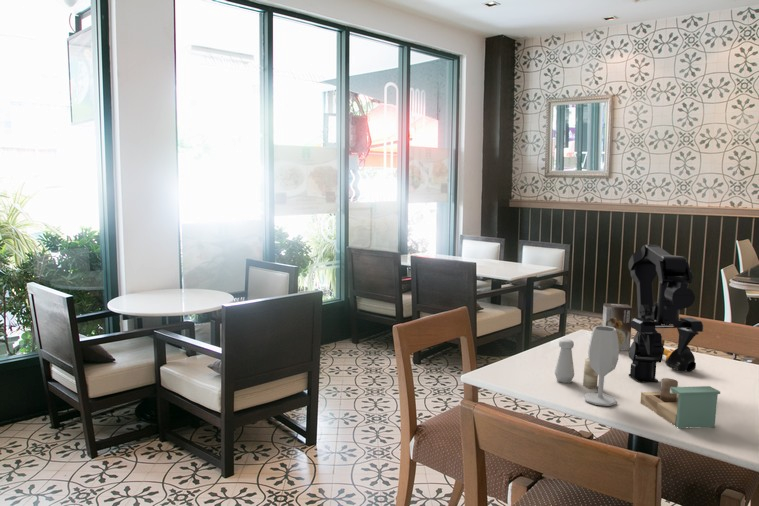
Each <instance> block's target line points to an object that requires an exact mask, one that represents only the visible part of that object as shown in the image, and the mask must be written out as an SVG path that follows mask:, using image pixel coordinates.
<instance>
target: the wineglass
mask: <svg viewBox="0 0 759 506" xmlns="http://www.w3.org/2000/svg"><path fill="white" fill-rule="evenodd" d="M587 350H588V351H587V356H588V358H589V362H590V366H591V368H592V369H593V370H594V371H595V372H596V373H597V374H598V383H597V392H592V391H591V392H588V393H586V394H584V395H583V398H584V401H585V403H588V404H592V405H595V406H602V407H603V406H604V407H611V406H614V405H616V404H617V400H616V398H615V396H612V395H610V394H606V393H604V385H605V384H604V383H605V376H607V375H608V374H609V373H612V372H613V371H614V370H615V369H616V367H617V364H618V361H619V356H620V355H619V354H620V350H619V344H618V336H617V332H616V329H615V328H613V327H609V326H602V325H596V326H593V329H592V331H591V333H590V338H589V343H588V349H587Z"/></svg>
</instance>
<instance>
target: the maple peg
mask: <svg viewBox="0 0 759 506" xmlns="http://www.w3.org/2000/svg"><path fill="white" fill-rule="evenodd" d="M583 366H584V367H583V379H582V380H583V381H582V382H583V383H582V386H583V387H585V388H588V389H596V388H597V389H598V382H599V375H598V374H597V373H596V372H595V371H594V370H593V369H592V368H591V366H590V362H589V357H588V358H587V357H586V358H584V365H583Z"/></svg>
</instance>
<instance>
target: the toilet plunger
mask: <svg viewBox="0 0 759 506" xmlns="http://www.w3.org/2000/svg"><path fill="white" fill-rule="evenodd" d="M663 356H666V357H665V365H666V366H667V367H669V368H670V369H674V370H676V371H679V372H687V373H691V372H693V371H694V370H695V369H696V366H697V362H696V358H695V356H694V353H693V352H692V350H691V348H690V347H689V346H688V345H687V347H686V348H685V350H684V351H683V353H682V354H681V355H680V354H678V347H677V348H676V349H672V348H669V349H666V348H665V347H664V353H663Z"/></svg>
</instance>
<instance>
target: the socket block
mask: <svg viewBox="0 0 759 506" xmlns="http://www.w3.org/2000/svg"><path fill="white" fill-rule="evenodd" d="M660 394H661V391H644V392H643V391H641V392H640V403H641V404H642V405H643V406H645V407H646V408H648V409H649V410H650V411H652V412H653V411H654V412H653V413H655V414H656V415H658V416H659V417H661V418H662V417H663V418H662V419H664V420H665V421H667V422H669V423H670V424H671V423H672V424H671V425H673V426H674V425H675V426H674V427H676V417H677V406H678V395H679V394H677V399H676V402H667V403H665V402H663V401H662V400H660Z"/></svg>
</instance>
